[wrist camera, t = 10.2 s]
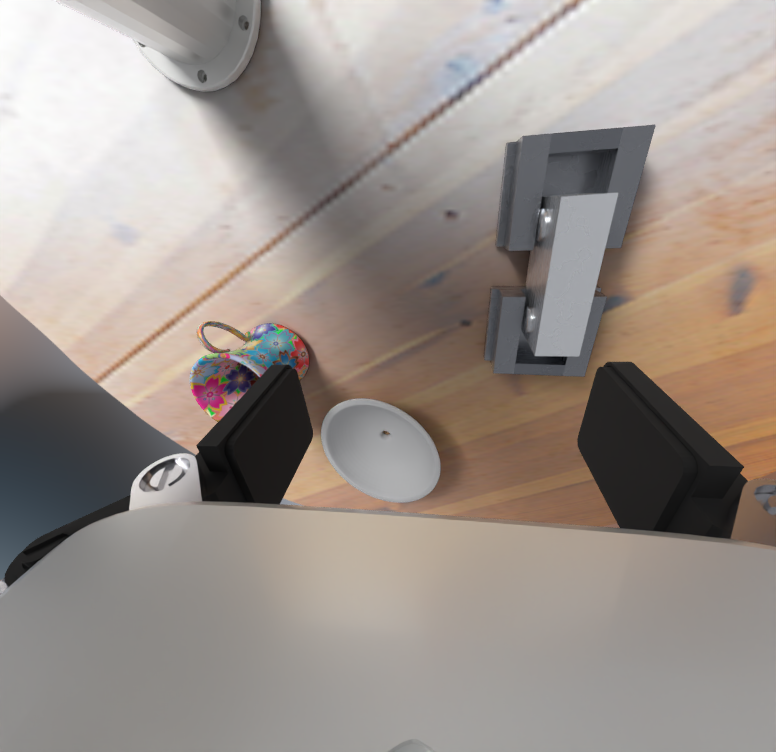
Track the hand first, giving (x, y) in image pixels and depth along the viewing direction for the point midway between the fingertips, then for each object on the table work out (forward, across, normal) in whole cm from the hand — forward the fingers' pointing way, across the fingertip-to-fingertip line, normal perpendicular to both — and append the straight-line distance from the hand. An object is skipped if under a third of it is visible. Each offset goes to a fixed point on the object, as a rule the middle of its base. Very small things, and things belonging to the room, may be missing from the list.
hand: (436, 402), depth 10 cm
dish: (+26, +7, +23) cm, 35 cm away
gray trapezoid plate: (+25, -10, +2) cm, 27 cm away
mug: (+26, +21, +10) cm, 35 cm away
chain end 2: (+25, -10, +8) cm, 28 cm away
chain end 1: (+26, -10, -4) cm, 28 cm away
